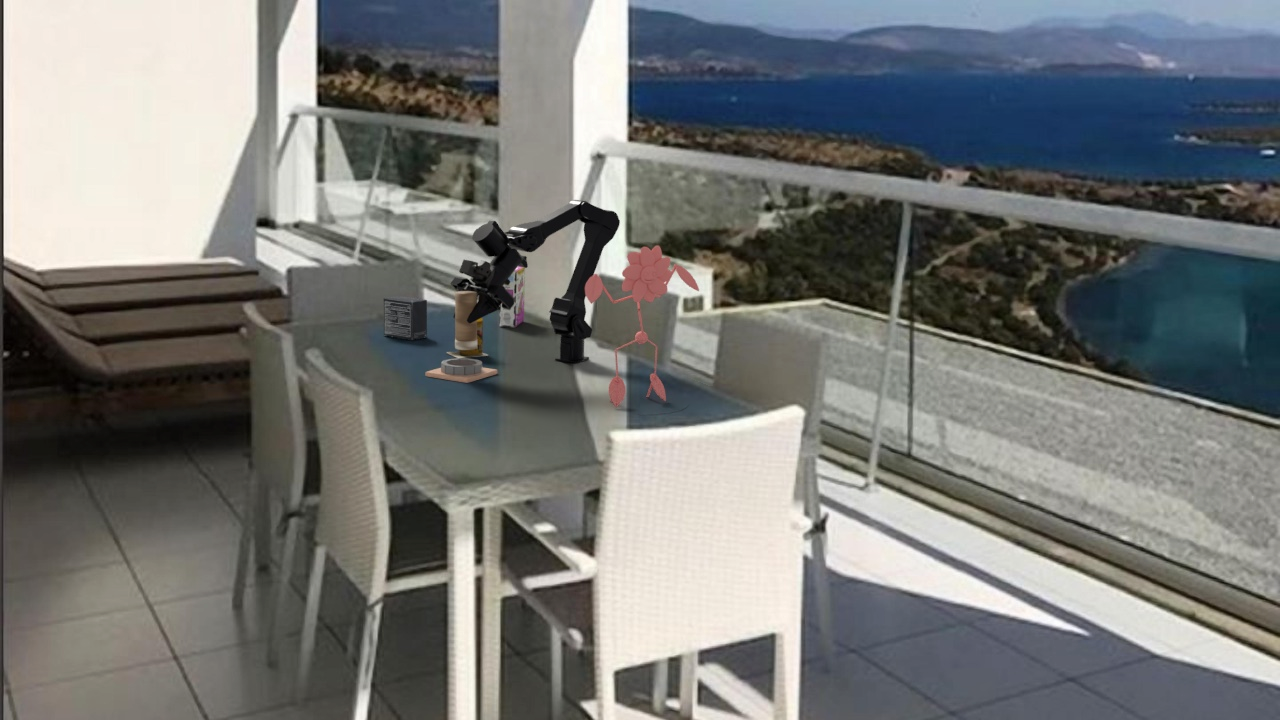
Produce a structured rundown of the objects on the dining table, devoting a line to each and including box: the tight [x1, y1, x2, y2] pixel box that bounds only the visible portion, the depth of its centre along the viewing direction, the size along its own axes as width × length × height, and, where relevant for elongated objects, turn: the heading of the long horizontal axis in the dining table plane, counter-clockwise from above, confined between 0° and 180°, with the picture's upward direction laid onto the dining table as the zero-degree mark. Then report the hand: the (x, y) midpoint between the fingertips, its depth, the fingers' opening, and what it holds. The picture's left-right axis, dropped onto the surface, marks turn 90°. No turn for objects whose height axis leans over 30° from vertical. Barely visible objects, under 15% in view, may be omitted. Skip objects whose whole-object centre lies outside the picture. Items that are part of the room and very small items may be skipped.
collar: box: [424, 357, 498, 384], centre depth 304 cm, size 12×12×3 cm
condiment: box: [446, 317, 489, 359], centre depth 326 cm, size 7×8×12 cm
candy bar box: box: [498, 266, 526, 329], centre depth 369 cm, size 11×5×16 cm, turn 172°
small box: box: [383, 295, 428, 341], centre depth 347 cm, size 11×6×10 cm, turn 58°
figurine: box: [585, 245, 700, 408], centre depth 275 cm, size 15×26×35 cm, turn 118°
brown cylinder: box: [454, 291, 478, 351], centre depth 300 cm, size 5×5×13 cm
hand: (461, 320), depth 299 cm, fingers closed on brown cylinder, 5 cm apart
